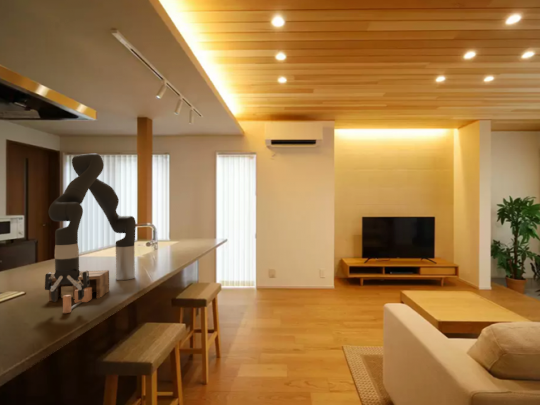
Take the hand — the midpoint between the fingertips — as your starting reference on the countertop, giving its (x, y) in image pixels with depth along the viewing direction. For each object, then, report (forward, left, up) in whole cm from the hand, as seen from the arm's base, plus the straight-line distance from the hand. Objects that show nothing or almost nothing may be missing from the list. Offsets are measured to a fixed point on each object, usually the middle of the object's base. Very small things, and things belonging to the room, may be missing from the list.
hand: (67, 300), depth 120 cm
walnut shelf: (-23, -5, -5) cm, 24 cm away
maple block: (-23, -9, -5) cm, 26 cm away
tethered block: (-7, 0, -4) cm, 8 cm away
